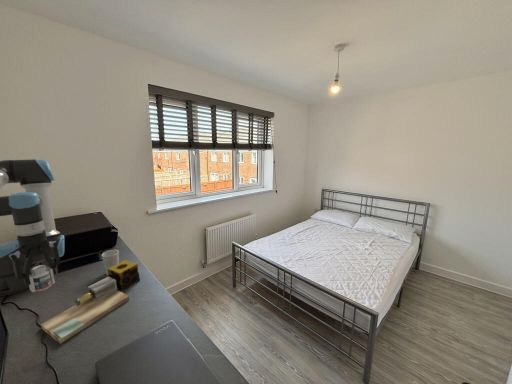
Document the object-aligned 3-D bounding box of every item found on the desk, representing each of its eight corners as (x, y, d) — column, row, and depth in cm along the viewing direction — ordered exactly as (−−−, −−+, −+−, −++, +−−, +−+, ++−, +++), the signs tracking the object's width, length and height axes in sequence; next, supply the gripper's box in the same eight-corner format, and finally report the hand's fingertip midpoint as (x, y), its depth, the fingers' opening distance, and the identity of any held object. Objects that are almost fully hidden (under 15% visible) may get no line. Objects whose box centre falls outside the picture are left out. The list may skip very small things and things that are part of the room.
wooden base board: (41, 328, 83) (37, 311, 82) (110, 290, 106) (108, 276, 105) (61, 344, 77) (57, 326, 75) (130, 299, 100) (128, 285, 98)
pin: (75, 304, 92) (74, 298, 91) (95, 293, 99) (94, 287, 98) (79, 306, 90) (78, 300, 90) (99, 295, 97) (98, 289, 97)
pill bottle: (30, 289, 84) (26, 269, 82) (47, 282, 89) (43, 262, 87) (38, 292, 82) (33, 272, 80) (55, 285, 87) (51, 265, 85)
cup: (112, 277, 117) (110, 257, 114) (100, 275, 118) (97, 255, 116) (124, 269, 124) (121, 250, 122) (112, 267, 126) (110, 249, 124)
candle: (140, 280, 114) (138, 263, 112) (122, 291, 105) (119, 273, 103) (128, 275, 119) (126, 259, 117) (109, 285, 110) (107, 268, 108)
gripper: (-2, 243, 71) (13, 304, 76) (65, 226, 87) (74, 277, 92) (-9, 239, 74) (6, 297, 79) (56, 223, 90) (66, 272, 95)
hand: (42, 286), depth 85 cm, fingers closed on pill bottle, 5 cm apart
